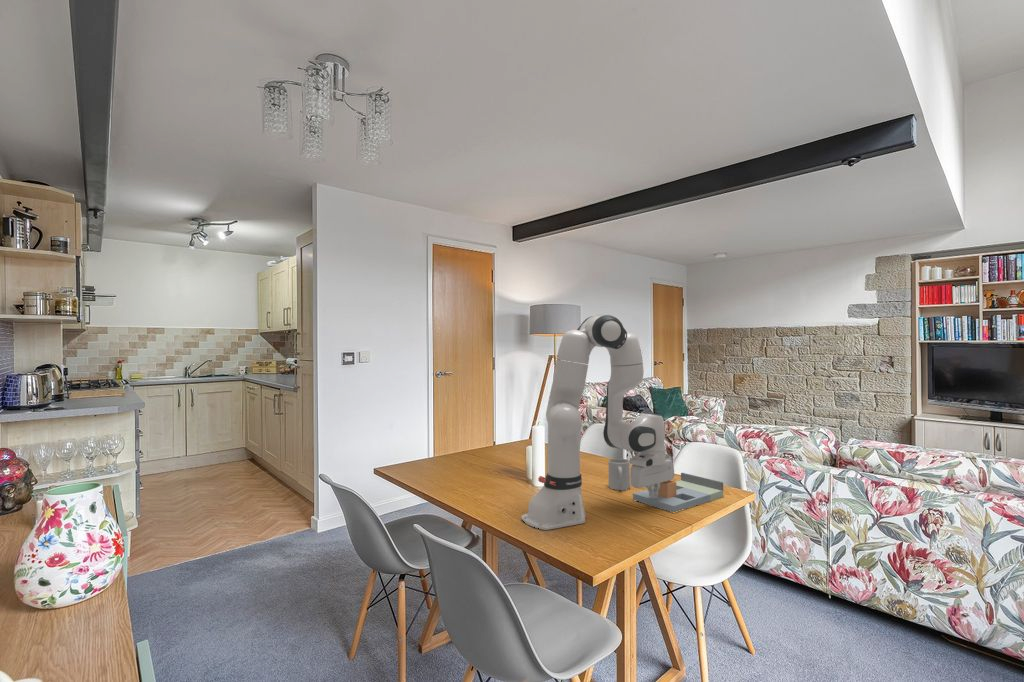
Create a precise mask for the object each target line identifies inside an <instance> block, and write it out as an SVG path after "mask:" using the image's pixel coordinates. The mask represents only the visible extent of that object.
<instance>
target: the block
mask: <svg viewBox="0 0 1024 682" xmlns="http://www.w3.org/2000/svg"><path fill="white" fill-rule="evenodd" d="M676 482H677V481H673V480H669V481H665V482H662V483H660V488H659V490H658V496H662V497H665V498H671V497H674V496H677V494H676Z"/></svg>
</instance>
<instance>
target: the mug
mask: <svg viewBox="0 0 1024 682" xmlns="http://www.w3.org/2000/svg"><path fill="white" fill-rule="evenodd" d="M607 461H608V466H607V467H608V468H607V469H608V488H609V489H610V488H611V490H613V489H615V490H614V491H619V490H623V491H627V490H626V489H628V490H630V489H629V488H631V481H630V470H631V466H630V460H629V459H627V458H620V457H619V458H618V457H617V458H610V459H608V460H607Z"/></svg>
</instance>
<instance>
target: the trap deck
mask: <svg viewBox="0 0 1024 682" xmlns="http://www.w3.org/2000/svg"><path fill="white" fill-rule="evenodd" d="M675 482H676V494H677V496H674V497H671V498H665V497H662V496H654V497H650V496H649V491H648V489H647V488H646V489H644V490H640V491H637V492H633V493H632V501H634V500H636V501H635V502H637V501H639V502H638V503H640V502H642V503H641V504H643V503H645V504H644V505H646V504H648V505H647V506H649V505H651V506H650V507H652V506H654V507H653V508H655V507H657V508H656V509H658V508H661V509H664V510H663V511H665V510H668V511H671V512H676V511H679V510H682V509H686V508H689V507H692V506H695V507H697V506H696V505H698V506H700V505H699V504H701V505H703V503H704V504H706V502H707V503H709V501H710V502H712V501H715V500H718V499H721V498H724V481H720V480H715V479H712V478H707V477H702V476H697V475H694V474H690V473H685V472H681V473H680V480H677V481H675ZM692 508H693V507H692ZM661 509H660V510H661ZM689 509H690V508H689ZM686 510H687V509H686ZM668 511H667V512H668ZM671 512H670V513H671Z"/></svg>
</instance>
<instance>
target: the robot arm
mask: <svg viewBox="0 0 1024 682" xmlns="http://www.w3.org/2000/svg"><path fill="white" fill-rule="evenodd" d="M595 347H598V348H599V347H600V348H606V349H607V351H608V355H609V356H610V357H609V359H610V361H609V362H610V375H609V380H608V382H607V385H606V395H605V396H606V399H605V404H606V405H605V422H604V423H605V424H604V426H603V432H602V434H603V435H602V436H603V439H604V442H605V443H606V444H607V446H608V447H610V448H614V449H622V450H624V451H625V450H626V451H630V452H634V453H636V454H635V455H634V456H632V457H630V460H629V464H630V465H631V466H630V486H632V487H633V488H635V489H643V488H646V490H647V489H648V491H649V496H650V497H654V496H658V490H659V488H660V483H662V482H665V481H669V480H670V481H673V480H674V479H675V467H674V462H673V457H672V456H671V455H670V454H669V453H668V454H666V446H665V440H666V428H665V420H664V417H663V416H662V415H661V414H659V413H653V412H647V411H646V412H641V413H640V416H639V417H638V418H637V419H636V420H634V421H632V422H626V421H625V420H624V419H623V418H624V417H623V410H624V409H623V405H624V397H625V395H626V393H627V392H629V391H632V390H633V389H635V388H637V387H638V386H639V385H640V384H641V383H642V381H643V379H644V360H643V354H642V353H643V352H642V350H641V345H640V342H639V338H638V337H637V336H636V334H634V333H631V332H627V330H626V329H625V328H624V325H623V323H622V322H621V321H620V320H619V319H618V318H617V317H616V316H613V315H610V314H596V315H592V316H589V317H587V318H585V319H584V320H583V322H581V324H580V326H579V327H578V328H577V329H570V330H568V331H566V332H565V333H564V334H563V335H562V338H561V340H560V344H559V347H558V349H557V350H558V351H557V355H556V360H555V366H554V372H553V378H552V379H553V380H552V383H551V389H550V391H549V396H548V402H547V406H546V412H545V418H546V421H547V473H546V475H545V476H541V475H540V476H538V477H537V481H538V482H539V483H541V484H543V486H542V487H541V488H540V490H538V492H536V493H535V495H534V496H532V498H531V499H530V500H529V501H528V508H527V513H524V514H522V515H521V516H520V519H522V520H523V521H524V522H525V523H524V522H523V521H522V520H521V521H522V522H523V523H524V524H526V525H527V526H530V527H532V528H534V527H535V529H538V528H539V529H538V530H542V531H543V530H544V531H548V530H553V529H561V528H565V527H570V526H571V527H572V526H574V525H575V526H576V525H581V524H585V523H586V517H587V514H586V512H585V508H584V503H583V502H584V501H583V496H582V488H581V487H582V485H583V482H582V480H583V479H582V473H581V444H582V443H581V439H582V415H581V413H580V411H579V409H580V405H581V400H582V396H583V392H584V389H585V387H586V381H587V380H586V379H587V374H588V368H589V361H590V356H591V353H592V351H593V349H594V348H595Z"/></svg>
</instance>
